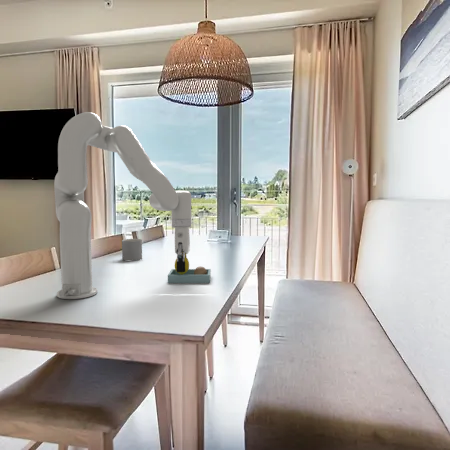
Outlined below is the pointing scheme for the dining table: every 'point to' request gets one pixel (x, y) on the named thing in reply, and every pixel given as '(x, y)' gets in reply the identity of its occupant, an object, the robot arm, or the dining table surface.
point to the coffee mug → (132, 249)
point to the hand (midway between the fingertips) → (181, 269)
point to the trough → (188, 277)
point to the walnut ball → (200, 271)
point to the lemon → (185, 266)
